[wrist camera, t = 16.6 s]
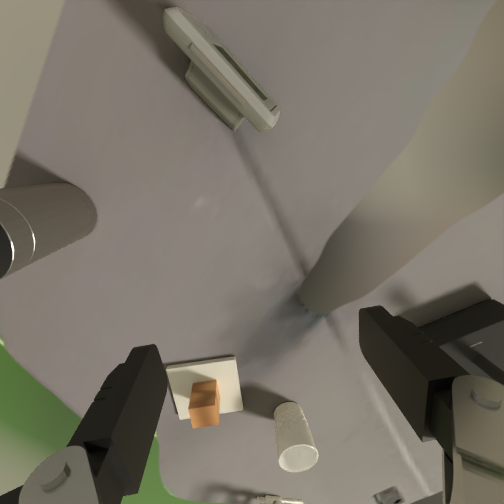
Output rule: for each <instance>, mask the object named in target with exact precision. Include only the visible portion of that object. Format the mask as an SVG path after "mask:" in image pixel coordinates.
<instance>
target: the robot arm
mask: <svg viewBox="0 0 504 504" xmlns="http://www.w3.org/2000/svg"><path fill="white" fill-rule="evenodd" d="M96 216H97V214H96V209H95V207H94V204H93V202H92V201H91V199H90V198H89V196H88V195H87V194H86V193H85V192H83V191H82V190H81V189H79V188H78V187H76V186H74V185H71V184H68V183H60V182H58V183H48V184H38V185H29V186H20V187H11V188H2V189H0V279H2V278H4V277H6V276H8V275H10V274H12V273H14V272H16V271H18V270H20V269H21V268H23V267H25V266H27V265H29V264H31V263H33V262H35V261H37V260H39V259H41V258H43V257H45V256H47V255H49V254H51V253H53V252H55V251H57V250H59V249H61V248H63V247H65V246H67V245H69V244H71V243H73V242H75V241H77V240H79V239H81V238H83V237H85V236H86V235H88V234H89V233H90V232H91V231H92V230H93V228H94V226H95V224H96ZM359 343H360V348H361V351H362V353H363V356H364V357H365V359H366V360H367V362H368V363H369V365H370V366H371V368H372V369H373V371H374V372H375V374H376V375H377V377H378V378H379V380H380V381H381V382H382V384H383V385H384V387H385V388H386V390H387V391H388V393H389V394H390V396H391V397H392V399H393V400H394V402H395V403H396V405H397V406H398V407H399V409H400V410H401V412H402V413H403V415H404V416H405V418H406V419H407V421H408V422H409V424H410V425H411V427H412V428H413V429H414V431H415V432H416V434H417V435H418V437H419V438H420V440H421V441H422V442H426V441H431V440H437V441H438V443H439V444H440V445H441V447H442V448H443V451H442V478H443V504H504V385H502V384H500V383H498V382H496V381H494V380H491V379H489V378H485V377H482V376H477V375H471V374H469V373H468V372H467V371H466V370H465V369H464V368H463V367H461V366H460V365H459V364H458V363H457V362H456V361H455V360H454V359H452V358H451V357H450V356H449V355H448V354H447V353H446V352H445V351H443V350H442V349H441V348H440V347H439V346H438V345H437V344H436V343H433V342H432V340H431V339H430V338H429V337H428V336H427V335H424V334H423V332H422V331H421V330H420V329H419V328H418V327H416V326H415V325H414V324H413V323H411V322H409V321H407V320H405V319H403V318H401V317H399V316H395V317H393V316H392V315H391V314H390V313H389V312H388V311H387V310H386V309H385V308H384V307H382V306H380V305H379V306H373V307H367V308H362V309H360V310H359ZM166 392H167V376H166V372H165V369H164V366H163V363H162V360H161V357H160V354H159V351H158V349H157V346H156V345H155V344H151V345H145V346H139V347H134V348H133V349H132V350H131V352H130V354H129V356H128V358H127V359H126V361H125V363H122V364H119V365H118V366H117V367H116V368H115V369H114V370H113V371H112V372H111V373H110V374H109V375H108V376H107V378H106V380H105V381H104V383H103V385H102V387H101V388H100V391H99V392H98V394H97V395H96V397H95V399H94V402H92V404H91V406H90V407H89V409H88V411H87V412H86V414H85V416H84V418H83V419H82V421H81V423H80V425H79V426H78V428H77V430H76V431H75V433H74V435H73V436H72V438H71V440H70V442H69V444H68V445H67V447H66V448H63V449H61V450H59V451H57V452H56V453H54V454H52V455H51V456H49V457H48V458H47V459H46V460H44V461H43V462H42V463H41V464H40V465H39V466H38V467H37V468H36V469H35V470H34V471H33V473H31V475H30V476H29V478H28V479H27V480H26V482H25V484H24V485H22V486H21V487H18V488H16V489H14V490H12V491H10V492H8V493H6V494H3V495H1V496H0V504H120V503H121V500H122V497H123V496H126V495H132V494H137V493H138V490H139V487H140V483H141V480H142V476H143V473H144V469H145V466H146V462H147V459H148V455H149V452H150V448H151V445H152V441H153V438H154V434H155V431H156V427H157V424H158V420H159V417H160V413H161V410H162V406H163V403H164V399H165V396H166Z"/></svg>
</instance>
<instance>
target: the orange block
mask: <svg viewBox="0 0 504 504" xmlns="http://www.w3.org/2000/svg"><path fill="white" fill-rule="evenodd" d="M188 411H189V415H190V418H191V422H192V426H193V428H199V427H205V426H212V425H218V424H219V413H220V394H219V389H218V384H217V380H212V381H205V382H198V383H193V384H192V390H191V396H190V401H189V407H188Z"/></svg>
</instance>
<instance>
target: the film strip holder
mask: <svg viewBox="0 0 504 504" xmlns="http://www.w3.org/2000/svg"><path fill="white" fill-rule="evenodd" d="M256 499H257V502H260V504H263V503H266V504H268V503H270V504H273V502H274V501H276V502H275V504H283V503H282V502H287V503H292V504H304V503H303V501H302V500H298V499H286V498H281V497H280V496H270V495H266V496H265V497H257V498H256Z"/></svg>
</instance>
